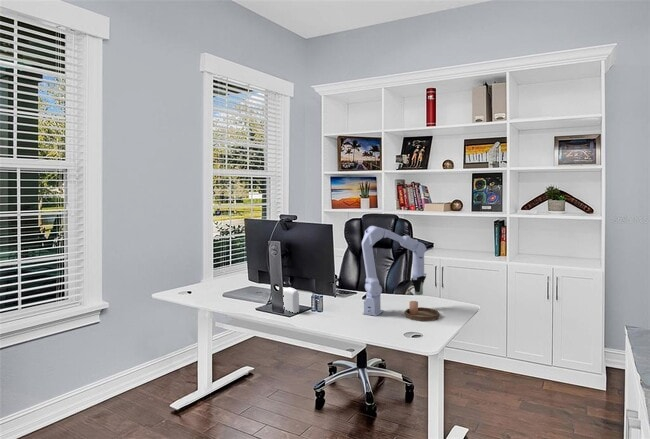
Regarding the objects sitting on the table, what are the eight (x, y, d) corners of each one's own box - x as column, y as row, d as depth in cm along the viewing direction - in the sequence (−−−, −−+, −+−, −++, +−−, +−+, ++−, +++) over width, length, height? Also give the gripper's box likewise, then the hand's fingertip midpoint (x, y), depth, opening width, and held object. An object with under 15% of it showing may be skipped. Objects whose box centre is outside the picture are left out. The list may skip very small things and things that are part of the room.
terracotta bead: (416, 315, 226) (416, 303, 226) (408, 314, 228) (408, 302, 228) (419, 313, 230) (419, 301, 229) (411, 312, 232) (411, 300, 231)
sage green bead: (421, 295, 237) (421, 283, 236) (413, 294, 239) (413, 283, 238) (423, 293, 241) (423, 282, 240) (415, 292, 242) (415, 281, 242)
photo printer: (282, 309, 243) (281, 286, 242) (289, 308, 246) (288, 285, 245) (293, 314, 235) (293, 290, 234) (300, 312, 238) (299, 288, 237)
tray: (434, 322, 216) (434, 318, 216) (400, 318, 224) (400, 314, 224) (442, 313, 230) (442, 309, 230) (410, 309, 238) (410, 306, 238)
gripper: (422, 268, 230) (422, 294, 231) (429, 263, 243) (429, 288, 244) (408, 267, 233) (408, 293, 234) (416, 262, 246) (416, 287, 247)
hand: (418, 290), depth 239 cm, fingers closed on sage green bead, 4 cm apart
